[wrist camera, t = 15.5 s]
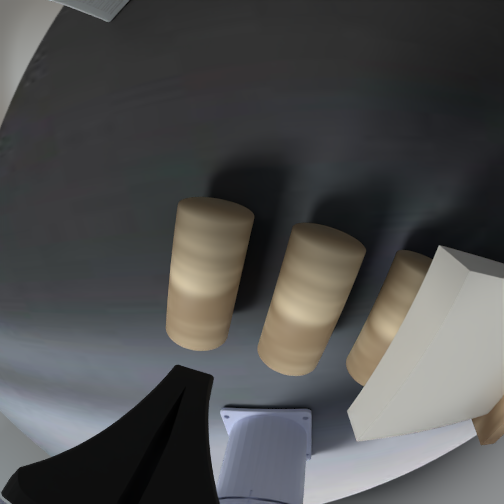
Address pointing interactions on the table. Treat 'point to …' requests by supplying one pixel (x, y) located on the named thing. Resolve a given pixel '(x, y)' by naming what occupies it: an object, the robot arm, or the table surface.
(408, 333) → the slab
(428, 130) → the table surface
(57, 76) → the table surface
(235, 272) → the roller track
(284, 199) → the table surface
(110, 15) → the small box
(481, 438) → the block
